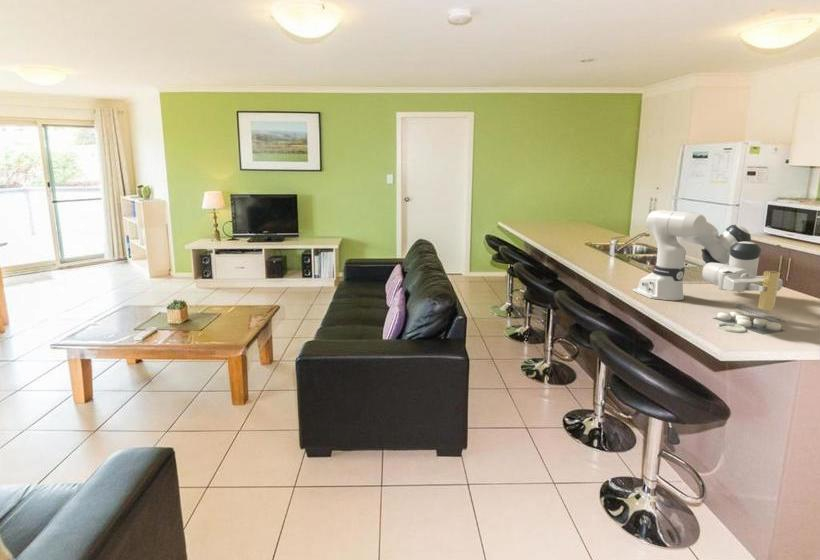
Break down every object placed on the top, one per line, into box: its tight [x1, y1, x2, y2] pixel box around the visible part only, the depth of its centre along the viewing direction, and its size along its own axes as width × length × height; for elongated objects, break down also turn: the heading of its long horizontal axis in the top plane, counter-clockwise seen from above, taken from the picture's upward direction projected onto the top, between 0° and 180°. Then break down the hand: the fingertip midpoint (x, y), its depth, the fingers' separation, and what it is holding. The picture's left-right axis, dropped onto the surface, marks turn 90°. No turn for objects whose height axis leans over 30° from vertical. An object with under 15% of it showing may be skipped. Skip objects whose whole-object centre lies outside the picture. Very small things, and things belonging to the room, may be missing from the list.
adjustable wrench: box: [735, 303, 787, 324], centre depth 199 cm, size 25×6×2 cm, turn 177°
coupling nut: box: [757, 270, 781, 311], centre depth 174 cm, size 4×5×13 cm
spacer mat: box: [712, 310, 787, 335], centre depth 185 cm, size 20×12×3 cm, turn 19°
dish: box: [715, 322, 747, 334], centre depth 180 cm, size 9×9×2 cm
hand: (771, 289), depth 173 cm, fingers closed on coupling nut, 4 cm apart
